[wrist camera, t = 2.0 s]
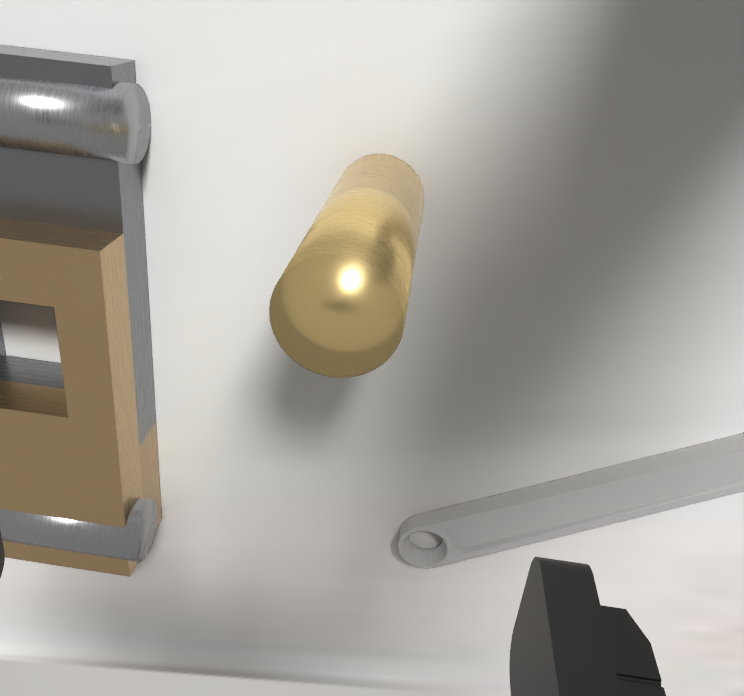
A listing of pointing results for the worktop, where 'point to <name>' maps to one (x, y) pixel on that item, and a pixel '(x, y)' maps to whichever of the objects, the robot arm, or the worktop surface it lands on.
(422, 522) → the adjustable wrench
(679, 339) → the worktop surface
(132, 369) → the brass frame with rod
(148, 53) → the worktop surface
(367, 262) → the pin
